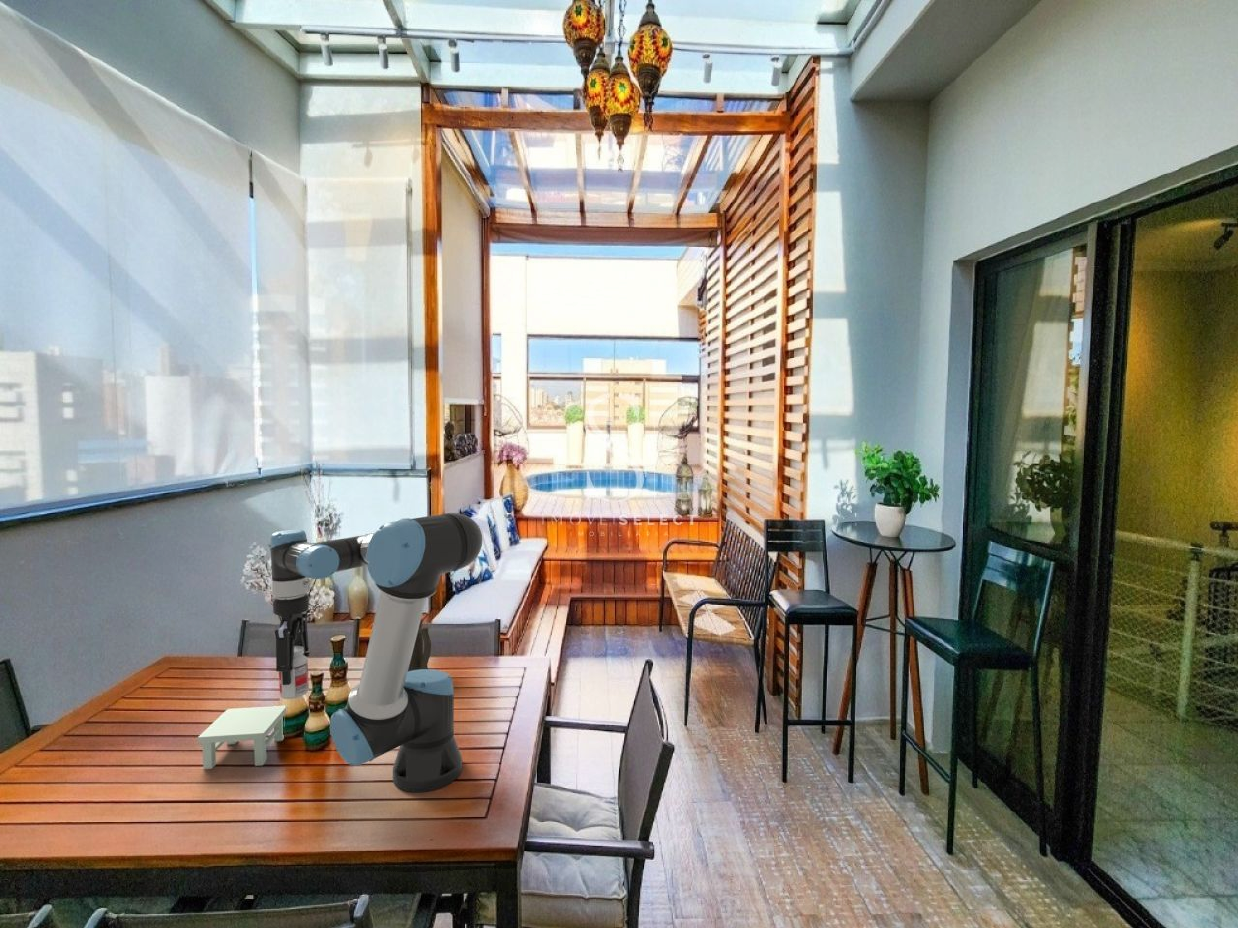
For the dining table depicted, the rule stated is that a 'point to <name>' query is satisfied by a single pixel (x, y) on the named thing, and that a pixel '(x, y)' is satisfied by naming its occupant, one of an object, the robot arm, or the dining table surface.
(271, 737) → the footstool
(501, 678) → the dining table surface
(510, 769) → the dining table surface
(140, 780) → the dining table surface
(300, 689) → the pill bottle
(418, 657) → the beer stein
